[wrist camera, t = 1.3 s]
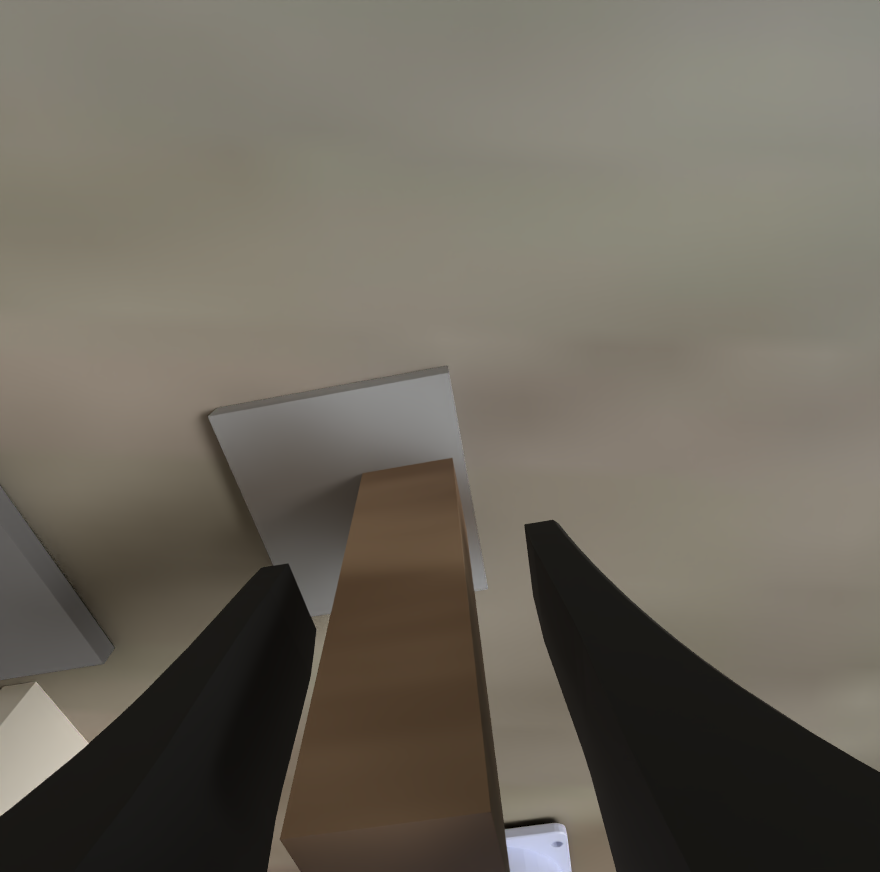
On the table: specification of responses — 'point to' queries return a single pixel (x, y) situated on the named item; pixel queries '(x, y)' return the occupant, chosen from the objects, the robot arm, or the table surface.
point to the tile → (31, 741)
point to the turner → (379, 621)
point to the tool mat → (40, 608)
